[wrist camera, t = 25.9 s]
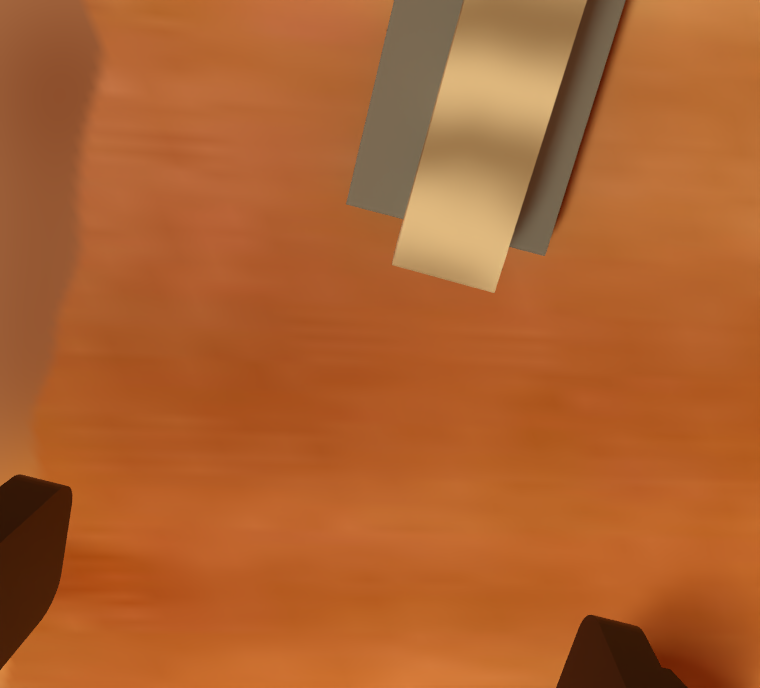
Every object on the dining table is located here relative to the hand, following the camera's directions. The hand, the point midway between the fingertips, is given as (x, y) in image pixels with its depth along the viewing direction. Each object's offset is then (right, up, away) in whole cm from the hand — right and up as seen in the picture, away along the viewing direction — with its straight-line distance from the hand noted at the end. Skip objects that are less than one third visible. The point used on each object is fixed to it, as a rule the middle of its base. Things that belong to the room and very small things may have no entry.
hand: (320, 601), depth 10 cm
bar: (+7, +19, +23) cm, 31 cm away
